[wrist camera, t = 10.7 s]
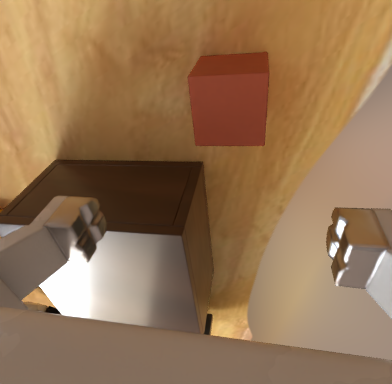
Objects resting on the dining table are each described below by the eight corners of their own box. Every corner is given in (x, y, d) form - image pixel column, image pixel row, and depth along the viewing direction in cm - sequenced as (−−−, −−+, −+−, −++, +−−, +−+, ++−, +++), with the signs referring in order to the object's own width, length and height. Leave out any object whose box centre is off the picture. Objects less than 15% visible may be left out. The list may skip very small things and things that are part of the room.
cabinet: (213, 270, 34) (202, 344, 27) (103, 260, 37) (69, 325, 30) (203, 161, 24) (182, 235, 17) (54, 159, 27) (-11, 222, 20)
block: (200, 56, 19) (187, 76, 15) (267, 51, 18) (269, 72, 14) (205, 117, 21) (195, 146, 18) (264, 116, 21) (264, 146, 17)
